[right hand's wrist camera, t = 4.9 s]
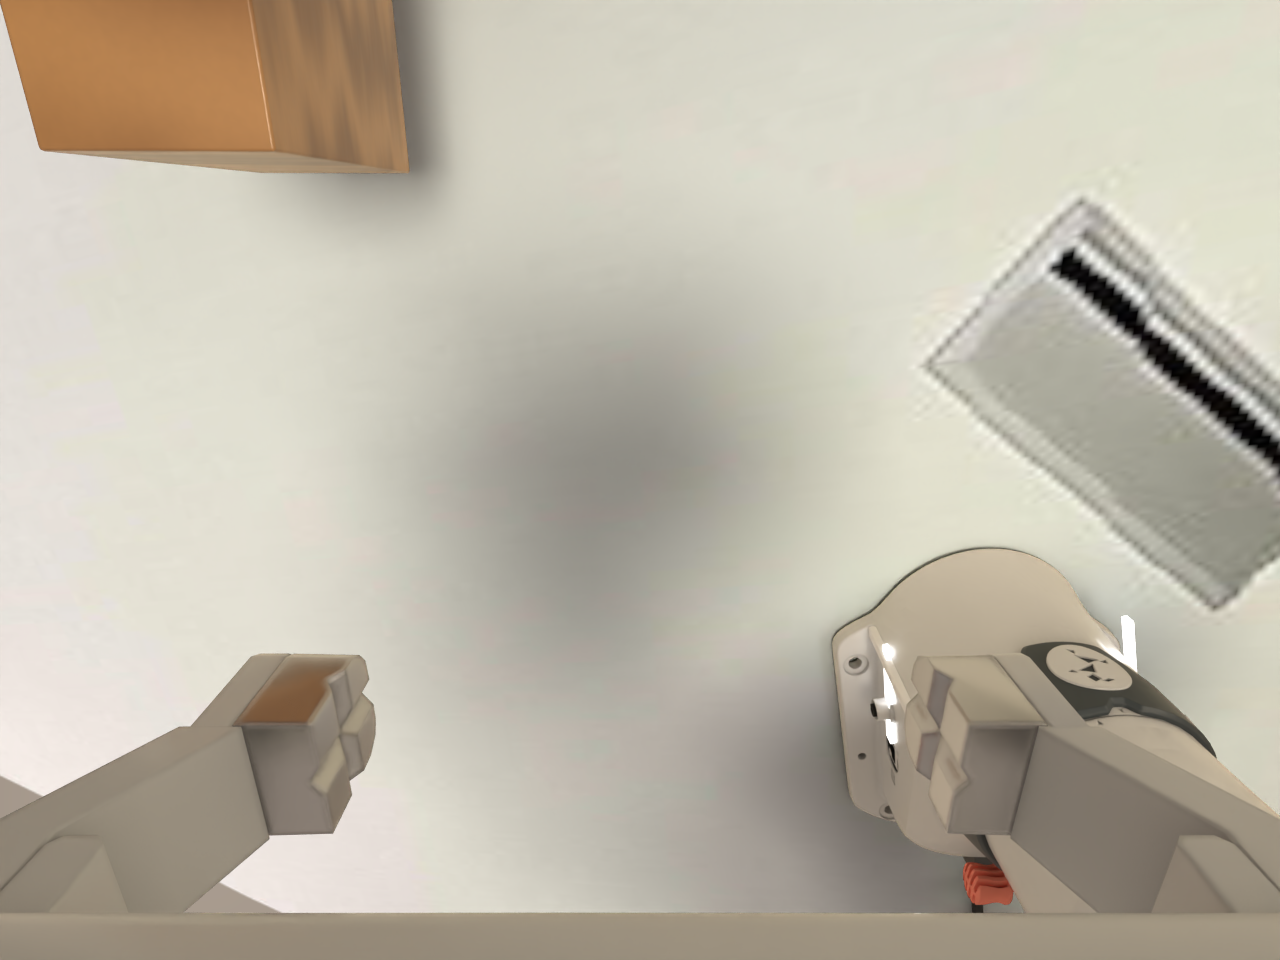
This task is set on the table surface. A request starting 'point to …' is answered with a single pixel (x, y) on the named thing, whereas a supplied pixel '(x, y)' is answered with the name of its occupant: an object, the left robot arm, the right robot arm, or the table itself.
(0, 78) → the table surface
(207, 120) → the box
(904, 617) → the right robot arm
